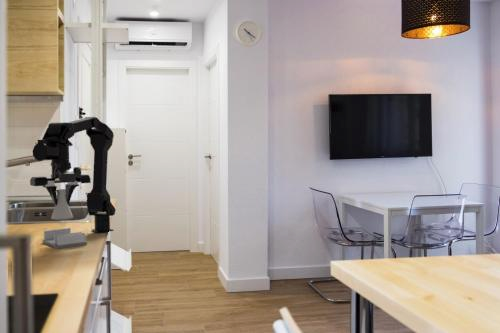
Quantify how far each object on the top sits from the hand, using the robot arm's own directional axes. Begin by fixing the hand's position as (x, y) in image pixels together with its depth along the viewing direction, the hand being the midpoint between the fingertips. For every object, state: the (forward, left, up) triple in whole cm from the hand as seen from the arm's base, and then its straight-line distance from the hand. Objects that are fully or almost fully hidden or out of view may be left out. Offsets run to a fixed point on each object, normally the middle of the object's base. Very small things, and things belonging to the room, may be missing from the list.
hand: (61, 205), depth 181 cm
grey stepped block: (+2, 0, -13) cm, 13 cm away
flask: (0, 0, -5) cm, 5 cm away
